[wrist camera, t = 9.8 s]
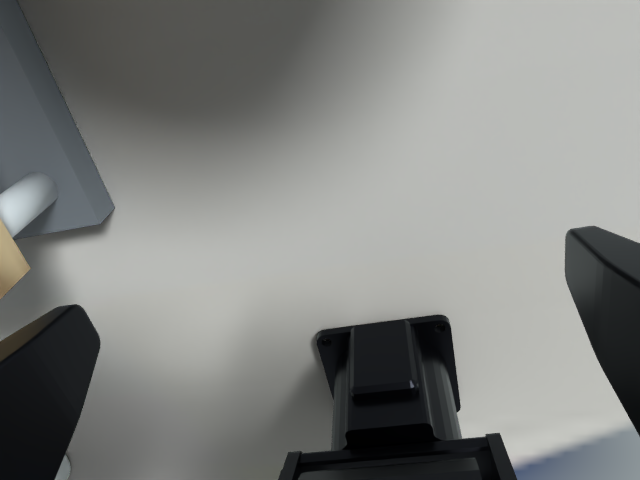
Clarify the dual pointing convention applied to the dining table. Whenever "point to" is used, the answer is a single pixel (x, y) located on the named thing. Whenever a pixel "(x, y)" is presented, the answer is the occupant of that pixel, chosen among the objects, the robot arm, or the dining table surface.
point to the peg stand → (40, 143)
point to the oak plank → (10, 262)
